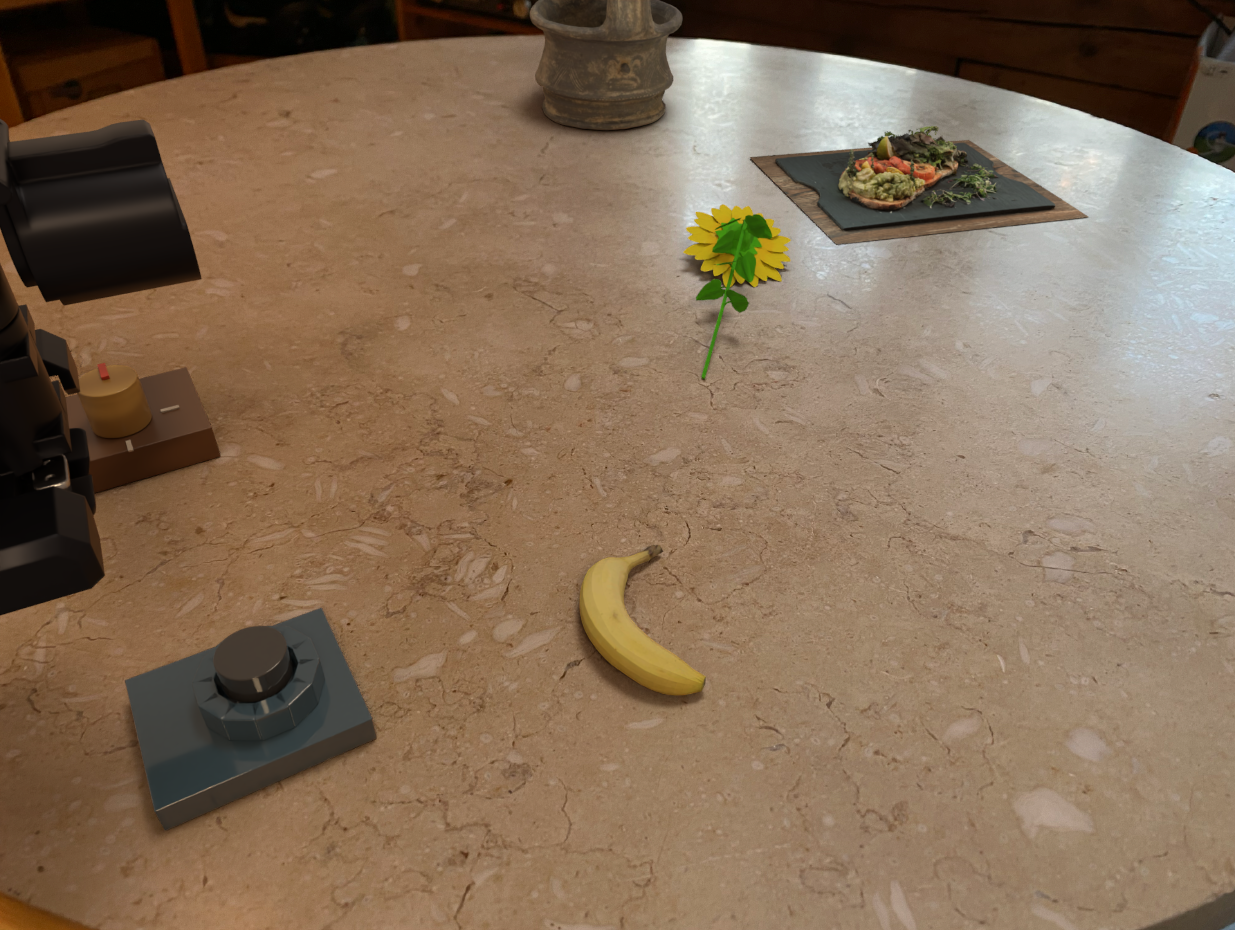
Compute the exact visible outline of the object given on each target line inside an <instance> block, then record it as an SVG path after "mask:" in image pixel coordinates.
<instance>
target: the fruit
mask: <svg viewBox="0 0 1235 930" xmlns="http://www.w3.org/2000/svg"><path fill="white" fill-rule="evenodd" d="M662 553H664V550H663V548H662V546H661V544H652V545H649V546H647V547H646V548H644V549H643V550H641V551H640V552H637V553H635V554H632V555H628V556H622V557H613V556H612V557H611V556H609V557H607V556H606V557H605V558H602V559H600V560H599V561H597V562H595V563H594V564H593V565H592V566H590V568H588V569H587V571H586V574H585V576H584V578H583V579H582V582H581V586H580V590H579V615H580V621H581V623H582V624H581V625H582V626H583V629H584V632H585V633H586V635H587V637H588V639H589V641H590V642H591V643H592V645H593V647H594V648H595V650H597V651H598V653H599V654H600V655H601V656H602V657H603V658H604V659H605V660H606V661H607V662H608V663H609V664H610V665H611V666H612V667H614V668H615V669H617V670H618V671H620V672H621V673H622V674H624V675H625V676H627V677H628V678H629V679H631V680H633V681H634V682H636V683H637V684H639V685H640V686H642V687H644V688H647V689H648V690H650V691H651V692H656V693H659V694H663V695H669V696H686V695H691V694H696V693H700V692H703V690H704V688H705V687H706V679H707V676H706V675H705V674H703V673H701V672H699V671H698V670H696V669H694V668H693V667H691V665H689V664H688V663H687V662H686V661H684V660H683V658H680V657H679V656H677V655H676V654H675V653H673V652H672V651H670V650H668V649H667V648H665V647H663V645H661V644H659V643H658V642H656V641H655V640H653V639H652V637H650V636H649V635H647V634H646V633H645V632H644V631H643V630H642V629H641V628H640V627H639V626H638V625H637V624H636V623H635V622H634V621H633V619H632V618H631V616H630V615H629V614H628V613H629V612H628V611H627V608H626V605H625V591H626V586H627V582H628V577H629V574H630V572H631V570H632V569H633V568H635V567H638V566H639V565H641V564H644V563H647V562H649V561H650V560H652V559H653V558H655V557H657V556H659V555H660V554H662Z"/></svg>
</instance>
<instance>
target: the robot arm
mask: <svg viewBox="0 0 1235 930" xmlns="http://www.w3.org/2000/svg"><path fill="white" fill-rule="evenodd" d="M9 128H10V127H9V125H8V124H7V123H6V122H5V121H4V120H2V119H1V118H0V233H1V235H2V239H3V240H4V244H5V245H6V249H7V251H8V254H9V257H10V259H11V261H12V264H13V267H14V268H15V271H16V273H17V275H18V277H19V278H20V280H21V282H22V284H23V285H24V286H25V287H26V288H32V287H37V289H38V290H39V292H40V294H41V296H42V298H43V300H44V302H45V303H50V302H55V301H56V302H57V301H59V302H60V303H61V304H62V305H63V306H68V305H75V304H81V303H85V302H91V301H95V300H101V299H107V298H111V297H118V296H122V295H127V294H132V293H137V292H143V291H148V290H154V289H158V288H164V287H168V286H169V287H170V286H174V285H179V284H184V283H185V284H186V283H189V282H195V281H201V280H203V279H202V274H201V269H200V265H199V262H198V257H197V254H196V250H195V247H194V244H193V239H192V236H191V233H190V230H189V226H188V223H187V220H186V218H185V215H184V212H183V210H182V207H181V205H180V202H179V199H178V196H177V193H176V191H175V189H174V186H173V183H172V180H171V177H168V175H167V171H166V169H165V166H164V162H163V160H162V156H161V153H160V149H159V145H158V142H157V139H156V136H155V134H154V131H153V128H152V126H151V123H150V122H148V121H147V120H145V119H136V120H129V121H121V122H115V123H110V124H109V125H106V126H103V127H101V128H98V129H94V130H90V131H83V132H76V133H67V134H59V135H51V136H44V137H37V138H28V139H22V140H21V139H20V140H14V141H10V140H11V139H10V130H9ZM51 377H58V379H57V380H51ZM79 378H80V377H79V371H78V366H77V364H76V362H75V359H74V357H73V354H72V351H71V349H70V346H69V343H68V342H67V340H66V339H65V338H63V337H60V336H58V335H56V334H54V333H52V332H49V331H47V330H45V329H42V328H37V329H36V325H35V322H34V319H33V316H32V314H31V311H30V309H29V307H28V305H27V304H26V303H25V304H21V305H19V303H18V301H17V299H16V296H15V294H14V291H13V289H12V287H11V284H10V282H9V280H8V278H7V275H6V272H5V271H4V268H3V266H2V264H1V263H0V617H1V616H5V615H7V614H10V613H13V612H17V611H20V610H24V609H27V608H32V607H35V606H37V605H41V604H45V603H47V602H51V601H54V600H58V599H62V598H65V597H68V596H71V595H75V594H78V593H81V592H85V591H88V590H92V589H93V588H94V587H95V586H96V585H97V584H98V583H99V582H100V581H101V580H102V579H104V577H105V576H106V573H105V564H104V558H103V552H102V550H103V549H102V543H101V537H100V533H99V530H98V527H97V524H96V523H97V522H96V520H95V517H94V516H95V515H96V512H97V500H96V493H94V486H93V478H92V475H91V474H90V475H89V467H90V456H89V448H88V441H87V434H86V431H85V430H84V429H82V428H71V429H69V422H68V413H67V404H66V397H67V396H66V395H65V393H66V394H67V395H68V396H71V395H76V394H77V393H79V392H80V385H79Z"/></svg>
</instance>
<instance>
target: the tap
mask: <svg viewBox="0 0 1235 930" xmlns="http://www.w3.org/2000/svg"><path fill="white" fill-rule="evenodd" d="M96 366H97V368H93V369H92V370H89V371H87V372H85V373H83V374H82V375H81V376H80V377H79V385H80V392H79V393H76V394H78V397H79V399H80V401H81V404H82V406H83V409H84V411H85V414H86V416H87V418H88V421H89V423H90V426H91V428H92V430H93V432H94V433H95V434H96V435H98V436H100V437H104V438H120V437H125V436H129V435H132V434H134V433H136V432H139V431H140V430H142V429H143V428H145V427H146V426H147V425H148V424H149V422H150V421H151V418H152V414H151V411H150V408H149V405H148V402H147V399H146V397H145V394H144V391H143V388H142V385H141V383H140V380H139V379H140V376H139V374H138V372H137V371H136V369H134V368H133V367H131V366H129V365H124V364H110V365H106V362H101V363H97V364H96Z"/></svg>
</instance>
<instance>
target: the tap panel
mask: <svg viewBox="0 0 1235 930" xmlns="http://www.w3.org/2000/svg"><path fill="white" fill-rule="evenodd" d="M139 380H140V383H141V385H142V388H143V391H144V394H145V397H146V399H147V402H148V405H149V408H150V411H151V414H152V418H151V421H150V422H149V424H148V425H147V426H146V427H145V428H143V429H142V430H140V431H139V432H136V433H134V434H132V435H129V436H125V437H120V438H104V437H100V436H98V435H96V434H95V433H94V432H93V430H92V428H91V426H90V423H89V421H88V418H87V416H86V414H85V411H84V409H83V406H82V404H81V401H80V399H79V397H78V394H77V393H75V394H71V395H68V396H65V397H66V404H67V413H68V422H69V429H71V428H82V429H84V430H85V431H86V434H87V441H88V448H89V456H90V467H89V475H90V474H91V475H92V478H93V486H94V493H95V494H96V493H100V492H103V491H106V490H110V489H113V488H116V487H120V486H124V485H127V484H130V483H133V482H134V483H135V482H138V481H140V480H144V479H147V478H152V477H155V476H158V475H162V474H165V473H169V472H172V471H175V470H179V469H183V468H186V467H189V466H193V465H196V464H199V463H203V462H206V461H209V460H212V459H216V458H219V457H221V452H220V449H219V446H218V443H217V438H216V436H215V433H214V430H213V427H212V424H211V422H210V420H209V417H208V414H207V413H206V410H205V408H204V406H203V403H202V401H201V398H200V395H199V394H198V391H197V389H196V386H195V384H194V381H193V379H192V377H191V375H190V372H189V369H188V367H187V366H185V367H180V368H177V369H172V370H169V371H165V372H160V373H157V374H153V375H148V376H145V377H139Z"/></svg>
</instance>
